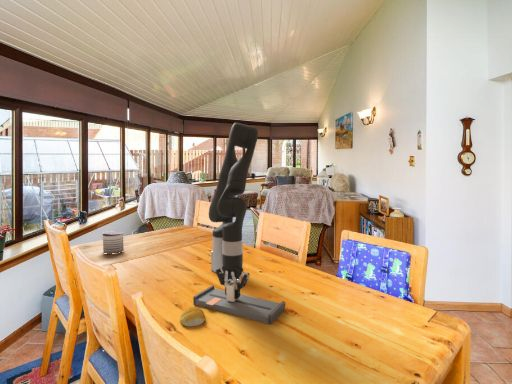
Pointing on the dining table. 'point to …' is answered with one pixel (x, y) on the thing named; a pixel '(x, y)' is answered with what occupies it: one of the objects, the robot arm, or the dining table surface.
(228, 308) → the fader board
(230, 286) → the fader cap
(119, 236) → the can
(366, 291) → the dining table surface
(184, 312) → the bread roll
